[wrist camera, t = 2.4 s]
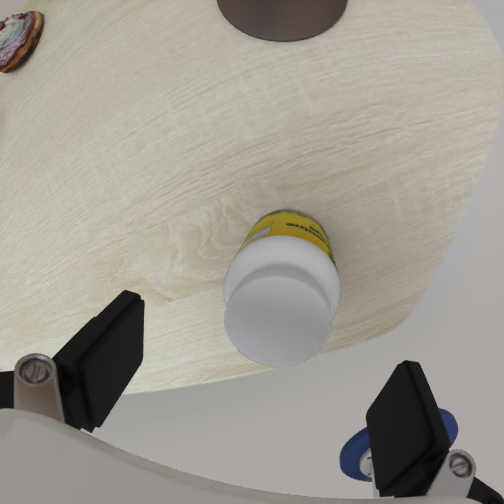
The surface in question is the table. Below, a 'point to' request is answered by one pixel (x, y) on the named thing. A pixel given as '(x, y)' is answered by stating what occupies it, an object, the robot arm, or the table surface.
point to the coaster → (282, 17)
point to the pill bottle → (282, 290)
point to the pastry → (18, 38)
